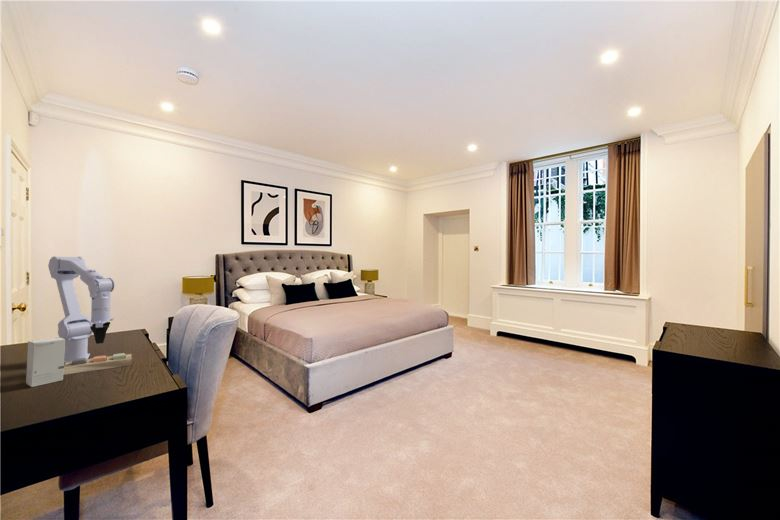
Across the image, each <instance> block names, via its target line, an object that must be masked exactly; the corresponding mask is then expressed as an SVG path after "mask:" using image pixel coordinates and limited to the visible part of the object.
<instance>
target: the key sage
mask: <svg viewBox="0 0 780 520" xmlns="http://www.w3.org/2000/svg"><path fill="white" fill-rule="evenodd" d="M125 354H126V353H125V352H122V353H121V352H119V353H113V355H112V356H113V360H117V359H125Z"/></svg>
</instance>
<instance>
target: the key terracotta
mask: <svg viewBox="0 0 780 520" xmlns="http://www.w3.org/2000/svg"><path fill="white" fill-rule="evenodd" d="M106 357H107V355H97V356H93V363H94V362H102V361H106Z"/></svg>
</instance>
